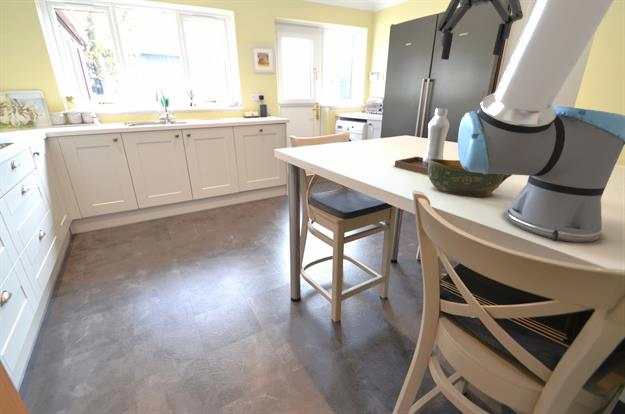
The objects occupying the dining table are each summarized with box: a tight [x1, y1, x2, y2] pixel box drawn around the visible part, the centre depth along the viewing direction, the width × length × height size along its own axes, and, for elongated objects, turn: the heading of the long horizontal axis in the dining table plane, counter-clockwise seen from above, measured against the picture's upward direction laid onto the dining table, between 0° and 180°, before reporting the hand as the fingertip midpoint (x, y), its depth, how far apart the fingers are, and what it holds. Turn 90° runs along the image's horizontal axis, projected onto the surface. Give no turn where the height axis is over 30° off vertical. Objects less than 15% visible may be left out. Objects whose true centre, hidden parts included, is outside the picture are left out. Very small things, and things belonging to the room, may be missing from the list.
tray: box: [394, 156, 428, 176], centre depth 100 cm, size 14×22×2 cm, turn 37°
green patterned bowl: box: [427, 159, 512, 198], centre depth 77 cm, size 13×20×10 cm, turn 49°
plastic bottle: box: [422, 108, 450, 168], centre depth 97 cm, size 6×7×20 cm
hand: (468, 57), depth 76 cm, fingers open, 13 cm apart
